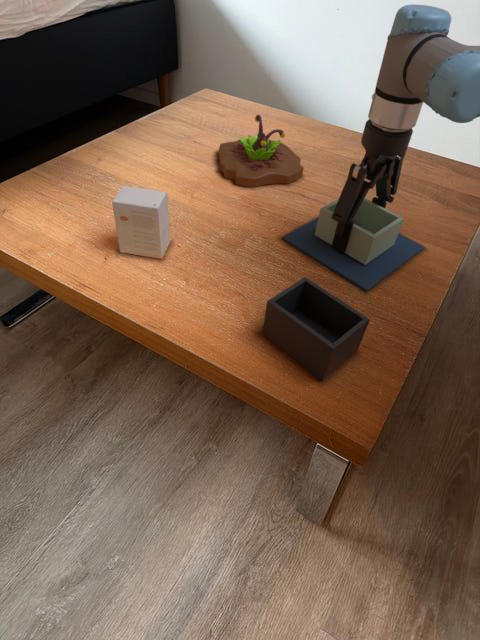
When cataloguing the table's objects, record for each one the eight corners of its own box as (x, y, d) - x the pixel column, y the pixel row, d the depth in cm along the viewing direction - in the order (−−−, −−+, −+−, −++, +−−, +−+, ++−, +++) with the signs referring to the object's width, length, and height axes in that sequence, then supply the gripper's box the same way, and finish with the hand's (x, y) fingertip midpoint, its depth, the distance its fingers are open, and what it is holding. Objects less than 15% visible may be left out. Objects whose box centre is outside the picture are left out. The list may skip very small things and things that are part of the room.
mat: (423, 248, 89) (424, 246, 89) (366, 292, 78) (367, 289, 78) (342, 205, 98) (343, 203, 98) (281, 239, 88) (282, 236, 87)
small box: (170, 242, 84) (168, 191, 77) (162, 260, 80) (158, 208, 73) (129, 235, 85) (123, 184, 77) (118, 252, 81) (111, 200, 73)
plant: (282, 145, 117) (288, 100, 109) (311, 182, 104) (321, 134, 97) (207, 150, 112) (208, 103, 104) (228, 189, 99) (231, 139, 91)
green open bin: (394, 244, 88) (404, 218, 83) (365, 265, 82) (374, 237, 78) (344, 217, 93) (351, 191, 89) (314, 235, 88) (320, 208, 84)
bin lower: (357, 351, 68) (370, 319, 63) (322, 381, 64) (333, 349, 59) (297, 309, 74) (305, 276, 69) (261, 334, 69) (267, 300, 64)
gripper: (406, 101, 79) (371, 211, 95) (328, 132, 67) (302, 252, 83) (445, 115, 76) (401, 227, 92) (369, 150, 64) (334, 272, 80)
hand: (354, 239), depth 88 cm, fingers closed on green open bin, 10 cm apart
